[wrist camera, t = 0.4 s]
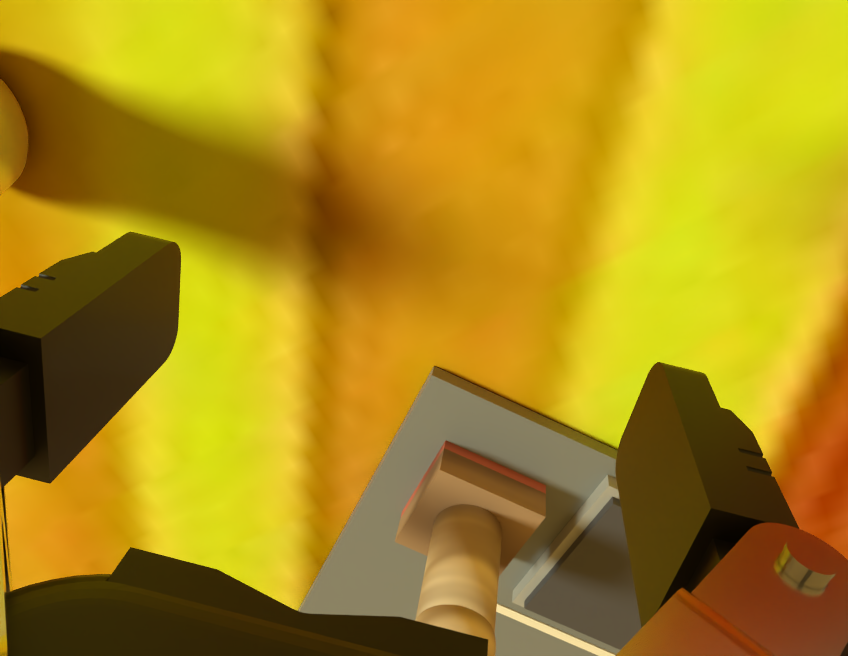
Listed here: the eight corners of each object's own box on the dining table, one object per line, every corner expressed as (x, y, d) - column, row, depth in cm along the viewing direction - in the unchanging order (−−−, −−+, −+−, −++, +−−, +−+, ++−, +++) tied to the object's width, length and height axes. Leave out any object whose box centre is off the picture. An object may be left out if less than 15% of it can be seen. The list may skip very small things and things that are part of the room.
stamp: (445, 440, 35) (410, 617, 26) (545, 485, 35) (545, 674, 27) (402, 510, 38) (357, 692, 29) (495, 551, 38) (479, 743, 29)
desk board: (434, 366, 34) (427, 391, 32) (791, 530, 35) (804, 562, 34) (284, 634, 46) (274, 663, 44) (555, 747, 48) (556, 779, 46)
